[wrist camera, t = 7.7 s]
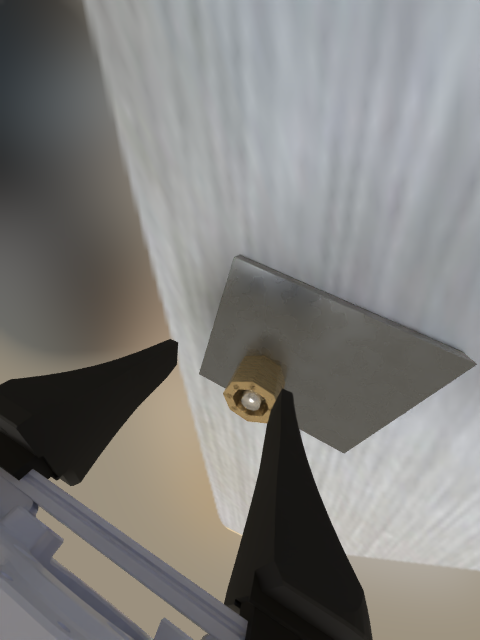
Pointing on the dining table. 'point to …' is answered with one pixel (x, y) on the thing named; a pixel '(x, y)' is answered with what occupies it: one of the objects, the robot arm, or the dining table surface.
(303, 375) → the shaft stand
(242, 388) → the bronze hub
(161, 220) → the dining table surface
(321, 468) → the dining table surface
